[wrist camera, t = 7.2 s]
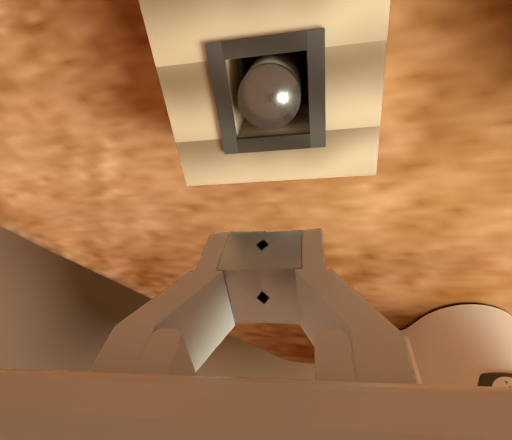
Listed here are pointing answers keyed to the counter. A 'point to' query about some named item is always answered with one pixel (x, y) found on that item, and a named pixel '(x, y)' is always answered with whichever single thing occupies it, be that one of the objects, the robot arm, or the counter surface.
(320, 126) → the socket block
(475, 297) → the counter surface
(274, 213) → the counter surface
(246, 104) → the peg
